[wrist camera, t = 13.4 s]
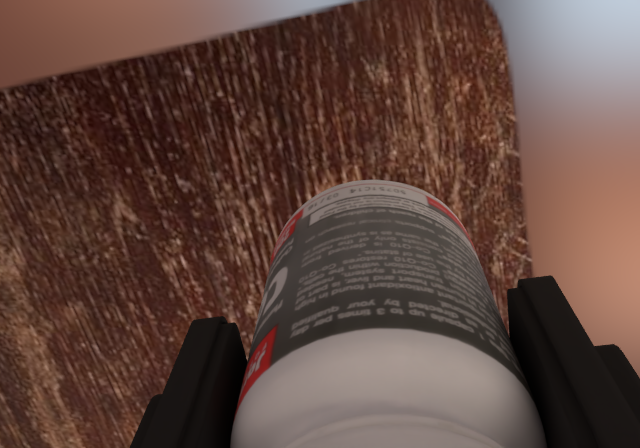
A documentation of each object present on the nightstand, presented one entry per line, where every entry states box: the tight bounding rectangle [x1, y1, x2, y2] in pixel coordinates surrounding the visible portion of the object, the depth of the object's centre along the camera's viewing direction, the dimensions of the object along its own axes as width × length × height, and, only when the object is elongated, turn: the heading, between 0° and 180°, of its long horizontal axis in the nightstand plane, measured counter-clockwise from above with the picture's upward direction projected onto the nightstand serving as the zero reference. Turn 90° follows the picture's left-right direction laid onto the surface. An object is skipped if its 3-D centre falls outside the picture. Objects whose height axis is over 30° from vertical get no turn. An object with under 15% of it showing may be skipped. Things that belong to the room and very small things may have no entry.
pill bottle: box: [230, 180, 547, 448], centre depth 11 cm, size 5×5×8 cm
